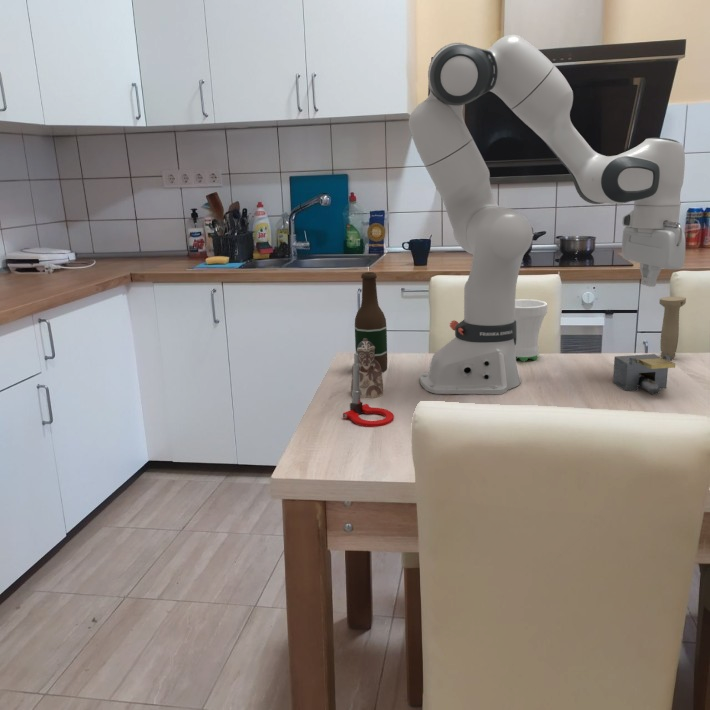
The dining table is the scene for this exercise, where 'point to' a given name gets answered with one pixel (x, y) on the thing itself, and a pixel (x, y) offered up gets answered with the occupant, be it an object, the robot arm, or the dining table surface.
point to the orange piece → (648, 384)
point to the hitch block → (637, 371)
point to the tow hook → (358, 406)
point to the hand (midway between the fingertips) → (648, 285)
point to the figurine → (368, 371)
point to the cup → (528, 327)
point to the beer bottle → (371, 320)
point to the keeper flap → (656, 363)
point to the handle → (670, 324)
